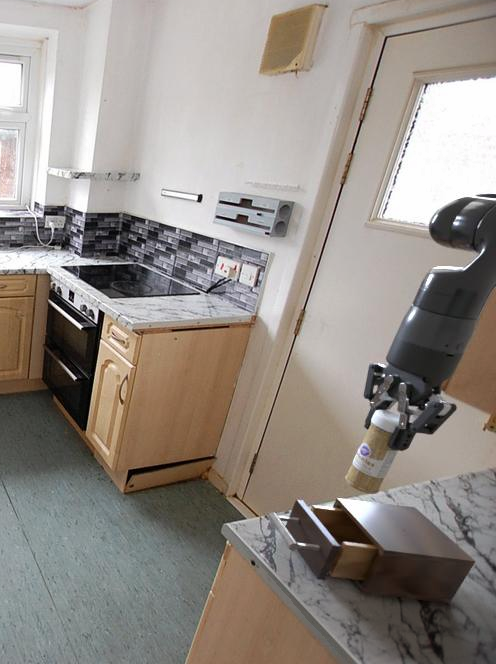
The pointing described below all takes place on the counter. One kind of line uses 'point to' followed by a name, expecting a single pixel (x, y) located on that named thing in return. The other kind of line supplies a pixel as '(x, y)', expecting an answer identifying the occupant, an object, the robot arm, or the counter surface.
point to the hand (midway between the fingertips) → (383, 438)
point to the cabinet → (408, 553)
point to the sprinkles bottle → (374, 453)
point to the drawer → (327, 541)
